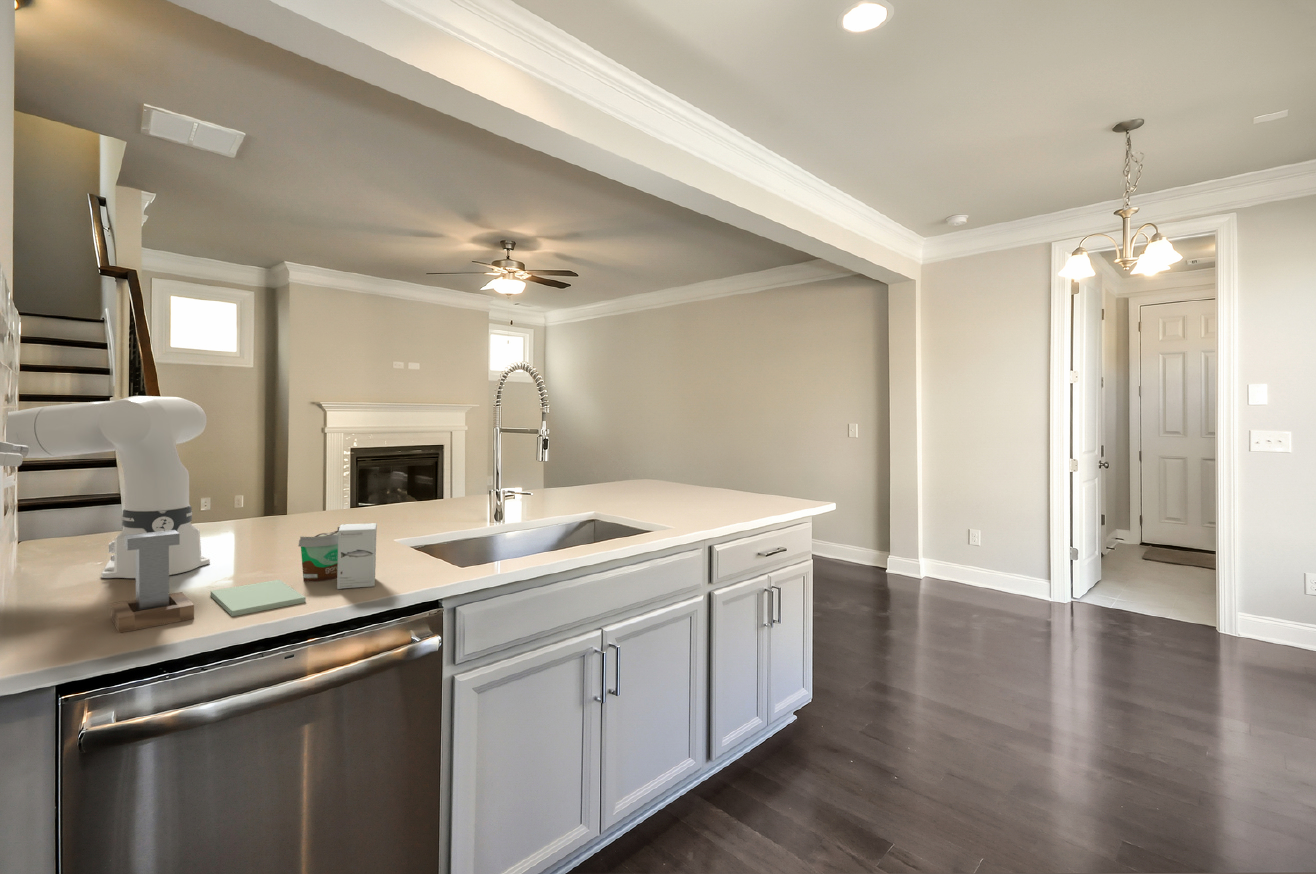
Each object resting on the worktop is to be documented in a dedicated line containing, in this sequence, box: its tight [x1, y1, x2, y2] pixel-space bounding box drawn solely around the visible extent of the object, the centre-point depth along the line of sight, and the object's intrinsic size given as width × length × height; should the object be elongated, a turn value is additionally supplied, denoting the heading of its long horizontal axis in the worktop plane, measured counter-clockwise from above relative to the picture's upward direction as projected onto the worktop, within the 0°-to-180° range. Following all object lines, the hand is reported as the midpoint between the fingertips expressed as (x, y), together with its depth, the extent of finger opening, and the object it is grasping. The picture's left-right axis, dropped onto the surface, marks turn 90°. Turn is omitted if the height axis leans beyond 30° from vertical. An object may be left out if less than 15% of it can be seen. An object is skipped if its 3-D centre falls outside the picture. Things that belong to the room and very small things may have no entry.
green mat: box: [210, 579, 307, 617], centre depth 119 cm, size 16×12×1 cm
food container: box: [297, 526, 340, 582], centre depth 135 cm, size 12×6×10 cm, turn 168°
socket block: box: [110, 591, 195, 634], centre depth 107 cm, size 10×10×2 cm
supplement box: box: [336, 522, 378, 590], centre depth 130 cm, size 7×7×13 cm
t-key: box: [124, 530, 180, 612], centre depth 107 cm, size 4×7×15 cm, turn 138°
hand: (25, 456), depth 94 cm, fingers open, 8 cm apart
